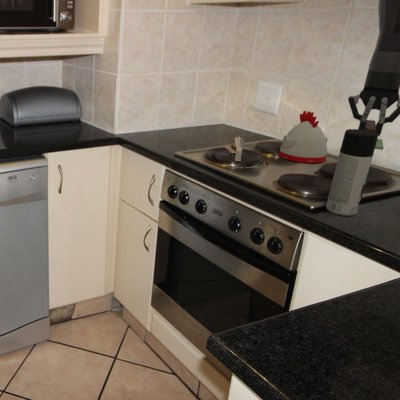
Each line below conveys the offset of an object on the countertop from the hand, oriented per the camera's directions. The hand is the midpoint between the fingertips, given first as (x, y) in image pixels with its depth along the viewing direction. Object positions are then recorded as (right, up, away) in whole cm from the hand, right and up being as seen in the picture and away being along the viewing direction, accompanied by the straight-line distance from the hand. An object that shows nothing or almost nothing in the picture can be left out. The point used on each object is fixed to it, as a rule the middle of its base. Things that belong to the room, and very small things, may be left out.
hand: (368, 136), depth 126 cm
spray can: (-13, -20, -9) cm, 26 cm away
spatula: (-1, -1, -2) cm, 3 cm away
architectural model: (-24, -4, +28) cm, 37 cm away
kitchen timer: (0, -3, +32) cm, 32 cm away
